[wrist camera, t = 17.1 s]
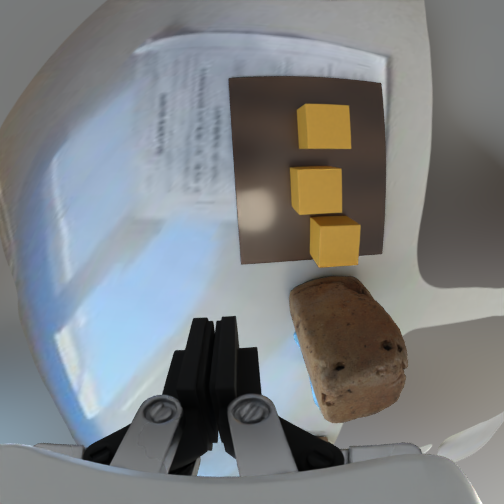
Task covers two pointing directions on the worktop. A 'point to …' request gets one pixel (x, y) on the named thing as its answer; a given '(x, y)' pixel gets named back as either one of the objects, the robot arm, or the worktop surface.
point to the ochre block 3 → (334, 241)
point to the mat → (303, 162)
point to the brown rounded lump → (348, 347)
